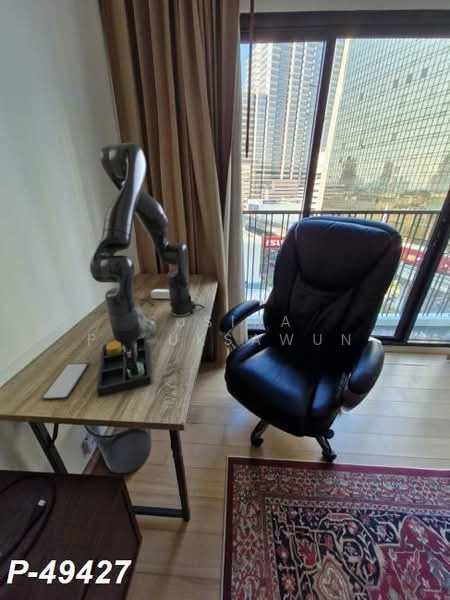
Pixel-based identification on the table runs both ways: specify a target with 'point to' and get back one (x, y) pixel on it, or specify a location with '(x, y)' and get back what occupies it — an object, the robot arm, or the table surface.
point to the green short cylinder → (140, 370)
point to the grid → (121, 370)
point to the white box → (160, 293)
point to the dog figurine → (145, 323)
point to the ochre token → (114, 348)
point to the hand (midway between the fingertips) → (134, 365)
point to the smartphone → (65, 381)
